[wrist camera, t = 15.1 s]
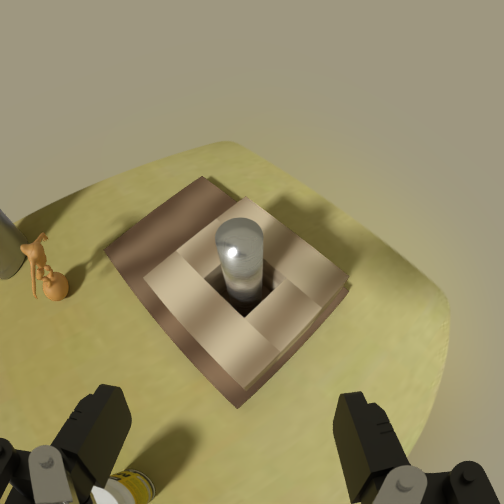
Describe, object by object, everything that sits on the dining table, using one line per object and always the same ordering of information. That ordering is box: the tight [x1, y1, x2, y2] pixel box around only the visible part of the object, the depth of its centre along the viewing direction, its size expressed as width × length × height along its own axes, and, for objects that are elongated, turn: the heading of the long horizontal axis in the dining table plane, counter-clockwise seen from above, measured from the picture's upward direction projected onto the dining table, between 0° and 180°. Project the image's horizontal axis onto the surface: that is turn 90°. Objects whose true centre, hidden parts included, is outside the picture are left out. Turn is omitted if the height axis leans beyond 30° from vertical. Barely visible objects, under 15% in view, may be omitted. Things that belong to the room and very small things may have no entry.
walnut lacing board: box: [104, 176, 349, 409], centre depth 34 cm, size 26×18×2 cm
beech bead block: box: [143, 196, 349, 391], centre depth 29 cm, size 14×14×6 cm
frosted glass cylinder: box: [215, 217, 263, 317], centre depth 26 cm, size 3×3×13 cm
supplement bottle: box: [91, 470, 155, 504], centre depth 18 cm, size 5×5×8 cm
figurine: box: [20, 232, 69, 301], centre depth 28 cm, size 8×6×12 cm
